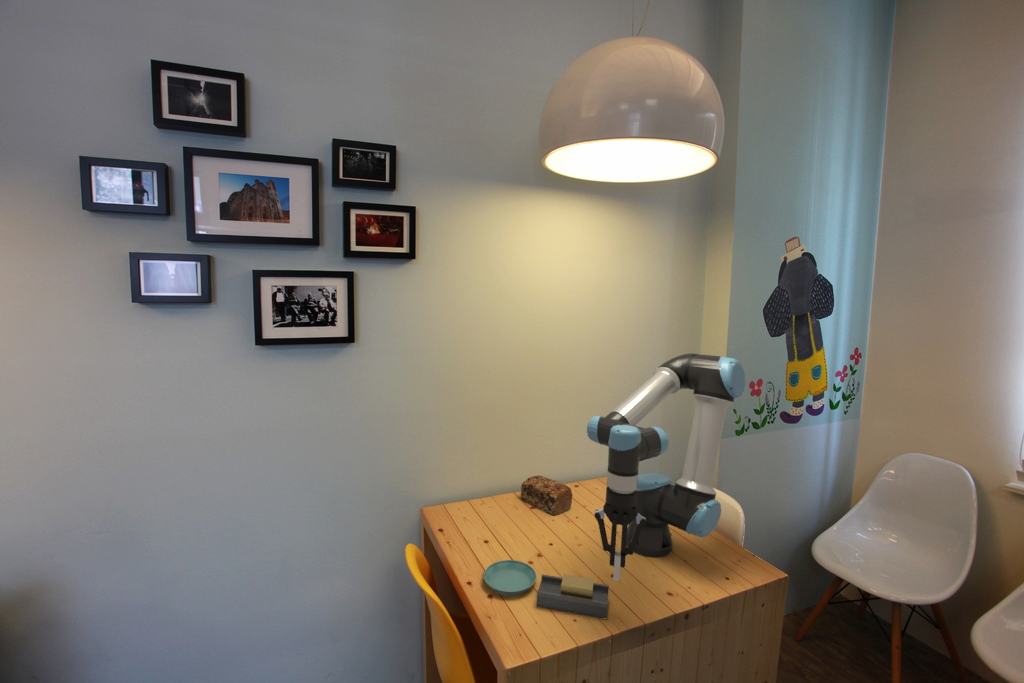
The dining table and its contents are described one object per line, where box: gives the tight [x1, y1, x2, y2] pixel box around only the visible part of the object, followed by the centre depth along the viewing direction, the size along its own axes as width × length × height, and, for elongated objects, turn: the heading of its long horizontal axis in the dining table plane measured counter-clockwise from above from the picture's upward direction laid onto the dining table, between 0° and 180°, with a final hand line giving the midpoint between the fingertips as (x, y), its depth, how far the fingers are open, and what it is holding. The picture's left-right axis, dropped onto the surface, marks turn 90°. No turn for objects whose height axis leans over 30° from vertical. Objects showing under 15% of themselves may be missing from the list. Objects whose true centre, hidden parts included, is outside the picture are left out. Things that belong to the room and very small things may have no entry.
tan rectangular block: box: [561, 573, 595, 600], centre depth 120 cm, size 8×5×3 cm, turn 77°
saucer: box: [483, 559, 537, 597], centre depth 128 cm, size 15×15×3 cm
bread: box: [520, 474, 573, 516], centre depth 178 cm, size 19×11×10 cm, turn 41°
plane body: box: [535, 573, 610, 620], centre depth 120 cm, size 18×8×4 cm, turn 77°
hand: (616, 577), depth 117 cm, fingers closed
